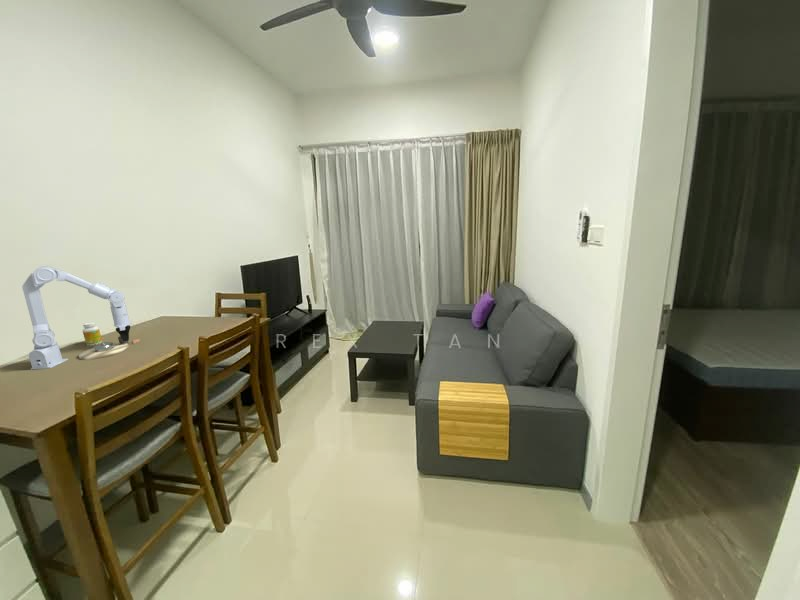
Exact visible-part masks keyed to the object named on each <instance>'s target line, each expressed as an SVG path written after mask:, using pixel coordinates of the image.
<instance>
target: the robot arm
mask: <svg viewBox="0 0 800 600" xmlns="http://www.w3.org/2000/svg"><path fill="white" fill-rule="evenodd" d="M55 279H56V282H68V283H70V284H73V285H76V286H78V287H80V288H81V287H82V288H84V289H86V290H87V292H88V293H89V294H91V295H93V296H95V297H99V298H101V299H103V300H108V302H109V304H110V311H111V316H112V319H113V323H114V324H113V327H116V328H115V331H116V332H117V334H118V335H119V336H121V338H122V340H123V341H128V342H129V340H130V339H129V338H130V330H131V325H132V324H133V321H130V319H129V315H128V310H127V306H126V304H125V303H126V302H125V296H124V294H123V293H122V292H121V291H119V290H117V289H116V288H114V287H113V288H110V287H109V286H106V285H104V283H103V282H93V283H92V282H89V281H87V280H85V279H83V278H80V277H78V276H76V275H74V274H71V273H69V272H67V271H64V270H61V269H58V268H54V267H52V266H48V265H43V266H39V267H38V268H36V269H35V270H33V271H32V272H31V273H30V274H29V275H28V277H27V278H26V279H25V281H24V282H23V284H22V291H23V295H24V299H25V302H26V306H27V309H28V310H27V311H28V314H29V317H30V322H31V324H32V329H33V332H32V333H33V337H32V344H33V345H34V346H33V350H32V351H30V352H29V354H28V358H29V361H30V364H31V368H30V370H32V369H33V370H42V369H51V368H53V367H56V366H57V365H59V364H62V363H64V362H66V361H68V360H69V358H63V356H62V353H61V349H60V346H59V342H58V341H56V340H55V337H56V336H55V333H54V331H52V329H51V327H50V325H49V322H48V319H47V314H46V311H45V306H44V303H43V298H42V295H41V291H40V289H41V288H42V287H43V286H44V285H46V284H48V283H51V282H52V281H54V280H55Z"/></svg>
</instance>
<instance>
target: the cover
mask: <svg viewBox="0 0 800 600" xmlns="http://www.w3.org/2000/svg"><path fill="white" fill-rule="evenodd" d="M113 343H114V342H113V341H106V342H102V343H100V344H96V345H93V347H94V350H95V352H103V351H108V350H111V349H113V348H114V345H113Z"/></svg>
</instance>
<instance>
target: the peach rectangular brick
mask: <svg viewBox="0 0 800 600" xmlns="http://www.w3.org/2000/svg"><path fill="white" fill-rule="evenodd" d="M139 341H140V338H137V339H133V340H131V343H132V344H136V342H137V343H140V342H141V341H140V342H139Z"/></svg>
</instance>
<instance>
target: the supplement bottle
mask: <svg viewBox="0 0 800 600" xmlns="http://www.w3.org/2000/svg"><path fill="white" fill-rule="evenodd" d="M96 325H97V324H96V322H94V321H92V322H86V323H83V324H82V326H83V329H82V333H83V334H82V335H83V338H84V341H85V345H86V346H88V345H90V346H95V345H94V344H96V345H97V344H98V343H101V342H102V343H103V339H102V336H101V332H100V328H99V327H98V326H96Z"/></svg>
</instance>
